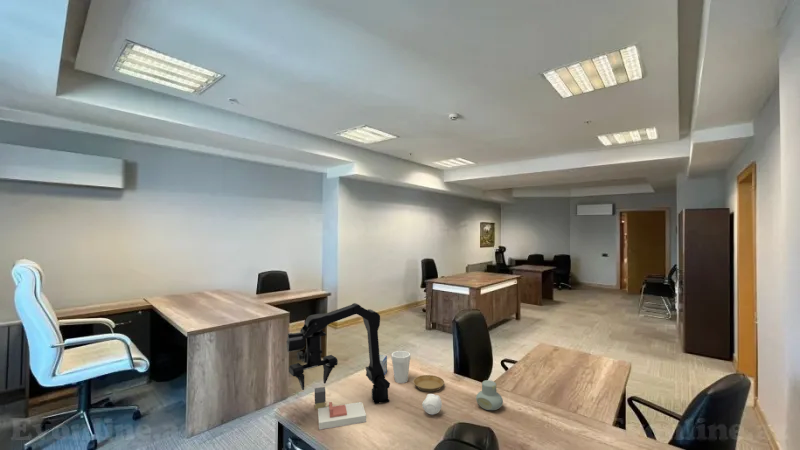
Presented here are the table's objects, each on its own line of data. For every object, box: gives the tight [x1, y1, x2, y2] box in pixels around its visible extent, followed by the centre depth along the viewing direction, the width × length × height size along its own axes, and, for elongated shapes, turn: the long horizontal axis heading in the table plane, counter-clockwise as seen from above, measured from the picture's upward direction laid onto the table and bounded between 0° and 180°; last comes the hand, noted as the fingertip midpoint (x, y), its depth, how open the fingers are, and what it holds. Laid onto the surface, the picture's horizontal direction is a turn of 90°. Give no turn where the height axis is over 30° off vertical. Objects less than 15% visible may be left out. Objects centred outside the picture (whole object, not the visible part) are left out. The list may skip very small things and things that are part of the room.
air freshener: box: [475, 379, 504, 411], centre depth 141 cm, size 11×8×10 cm
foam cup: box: [390, 350, 411, 384], centre depth 168 cm, size 10×9×13 cm
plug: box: [314, 386, 327, 410], centre depth 144 cm, size 4×4×7 cm
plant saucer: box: [412, 374, 445, 393], centre depth 161 cm, size 15×15×3 cm
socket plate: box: [317, 401, 367, 430], centre depth 134 cm, size 18×11×2 cm, turn 105°
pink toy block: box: [328, 401, 347, 417], centre depth 134 cm, size 6×6×3 cm
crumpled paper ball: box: [421, 393, 443, 415], centre depth 137 cm, size 8×8×8 cm
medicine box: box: [380, 354, 388, 376], centre depth 175 cm, size 8×4×9 cm, turn 168°
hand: (313, 386), depth 135 cm, fingers open, 9 cm apart
